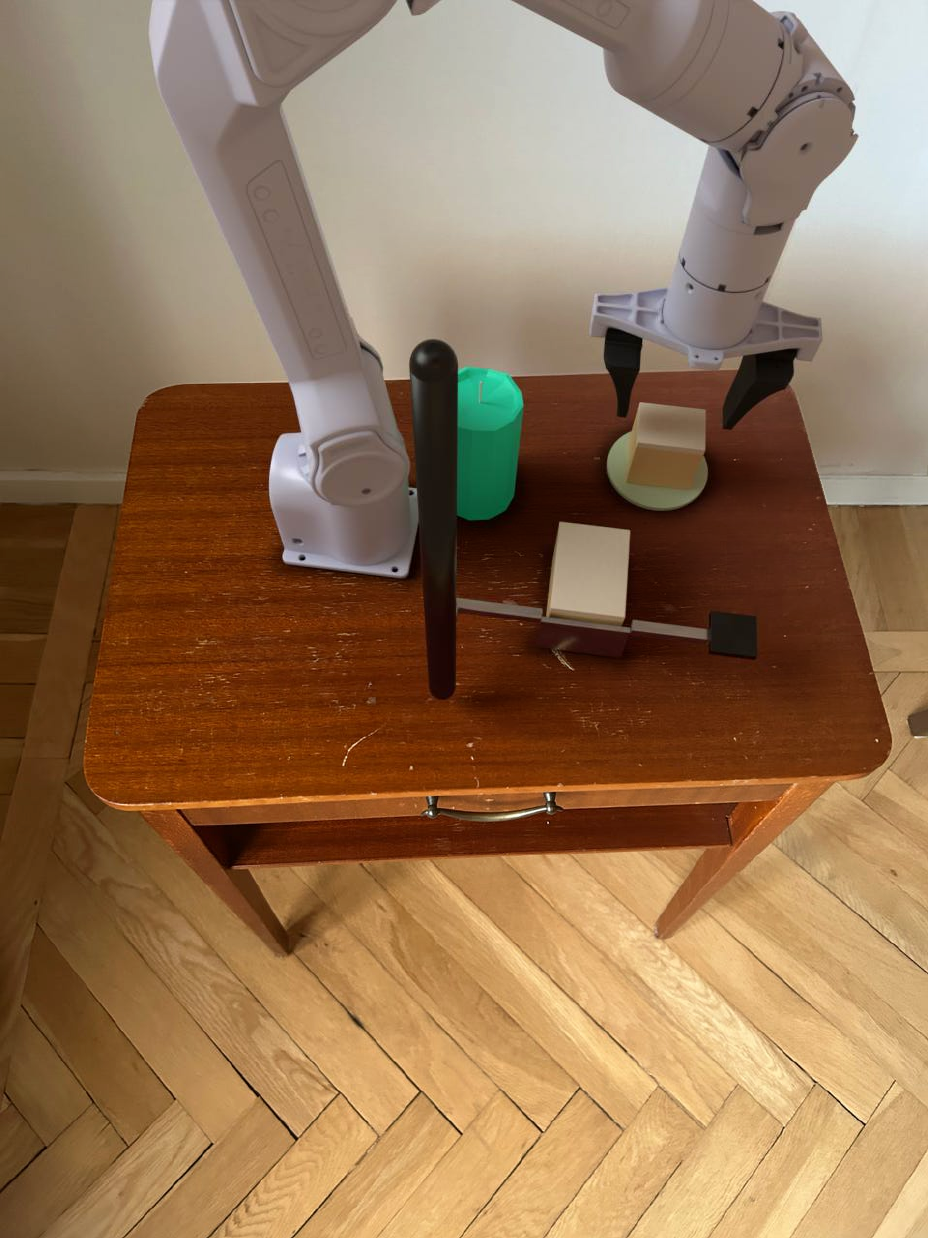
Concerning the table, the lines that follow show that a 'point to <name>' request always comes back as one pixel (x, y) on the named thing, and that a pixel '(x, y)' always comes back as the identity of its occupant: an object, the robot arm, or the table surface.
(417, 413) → the black upright rod
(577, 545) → the tall beige cuboid
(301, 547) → the robot arm
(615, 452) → the plate
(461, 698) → the table surface
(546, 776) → the table surface
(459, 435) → the candle
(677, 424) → the beige block
